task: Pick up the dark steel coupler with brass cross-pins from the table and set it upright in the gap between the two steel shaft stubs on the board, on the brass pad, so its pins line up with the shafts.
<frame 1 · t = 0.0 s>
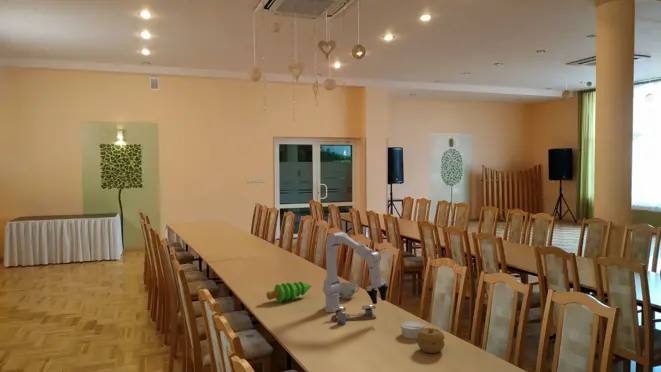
hand: (379, 302, 247), 11 cm above the table, tool pointing down, fingers open, 7 cm apart
shaft board: (353, 317, 255), on the table
decorative tree: (291, 300, 289), on the table
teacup: (347, 298, 292), on the table
pot: (430, 351, 211), on the table
shaft stubs: (353, 310, 255), on the shaft board, point 4 cm above the table
ramekin: (412, 336, 229), on the table
coupler: (341, 324, 246), on the table
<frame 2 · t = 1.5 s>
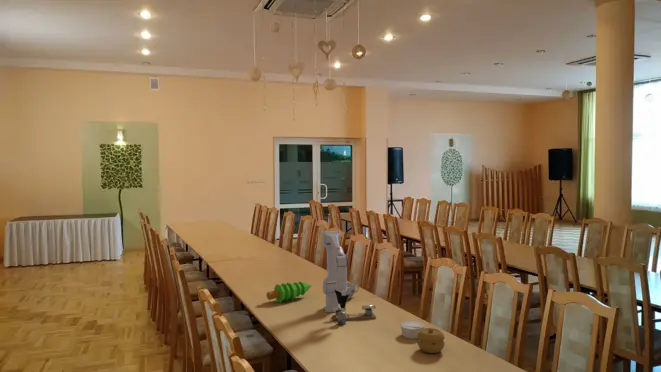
hand: (341, 305, 246), 9 cm above the table, tool pointing down, fingers open, 7 cm apart
nothing on the table moved.
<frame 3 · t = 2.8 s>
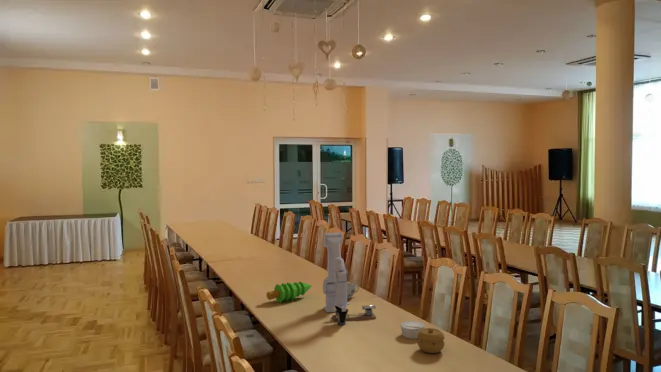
hand: (341, 321, 246), 1 cm above the table, tool pointing down, fingers closed on coupler, 4 cm apart
coupler: (341, 323, 246), on the table, touching gripper
everything else where it was.
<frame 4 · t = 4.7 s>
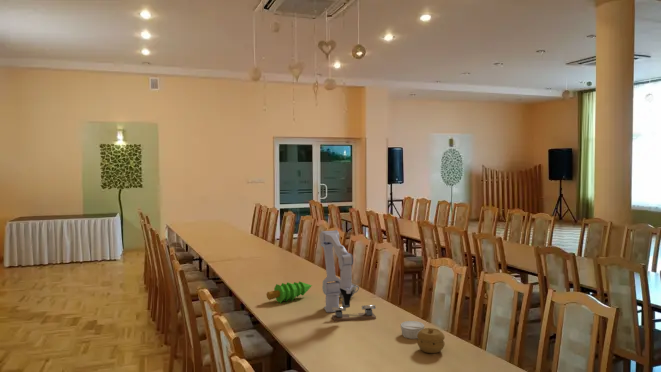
hand: (346, 303, 249), 9 cm above the table, tool pointing down, fingers closed on coupler, 4 cm apart
coupler: (346, 306, 249), point 8 cm above the table, touching gripper
everything else where it was.
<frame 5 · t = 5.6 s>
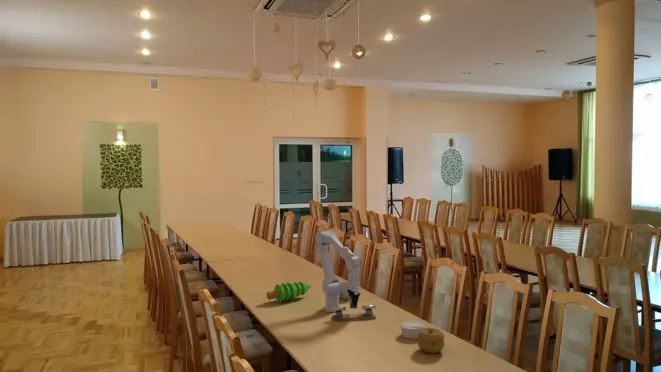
hand: (353, 304, 255), 7 cm above the table, tool pointing down, fingers closed on coupler, 4 cm apart
coupler: (353, 307, 255), point 6 cm above the table, touching gripper
everything else where it was.
when the fingers open (4 cm above the table, at t = 6.5 s): coupler drops 1 cm, resting on shaft board.
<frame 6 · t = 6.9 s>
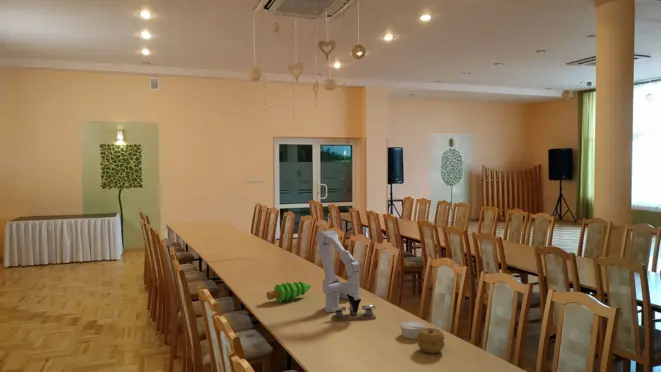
hand: (353, 309, 255), 4 cm above the table, tool pointing down, fingers open, 7 cm apart
coupler: (353, 315, 255), point 1 cm above the table, touching shaft board
everything else where it was.
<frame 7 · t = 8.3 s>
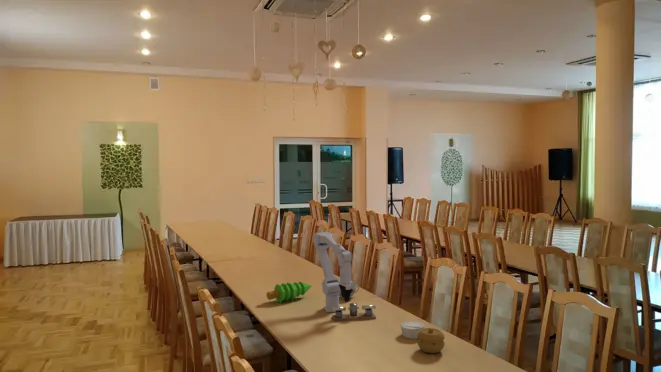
hand: (345, 299, 256), 9 cm above the table, tool pointing down, fingers open, 7 cm apart
nothing on the table moved.
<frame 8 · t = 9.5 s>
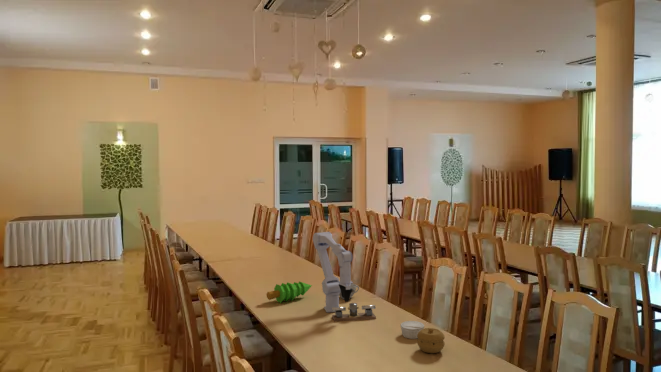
hand: (345, 299, 256), 9 cm above the table, tool pointing down, fingers open, 7 cm apart
nothing on the table moved.
at the end: coupler 0.1 cm off-centre on the shaft board, point 1.5 cm above the shaft board's base; coupler tilted 2°; the gripper is holding nothing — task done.
